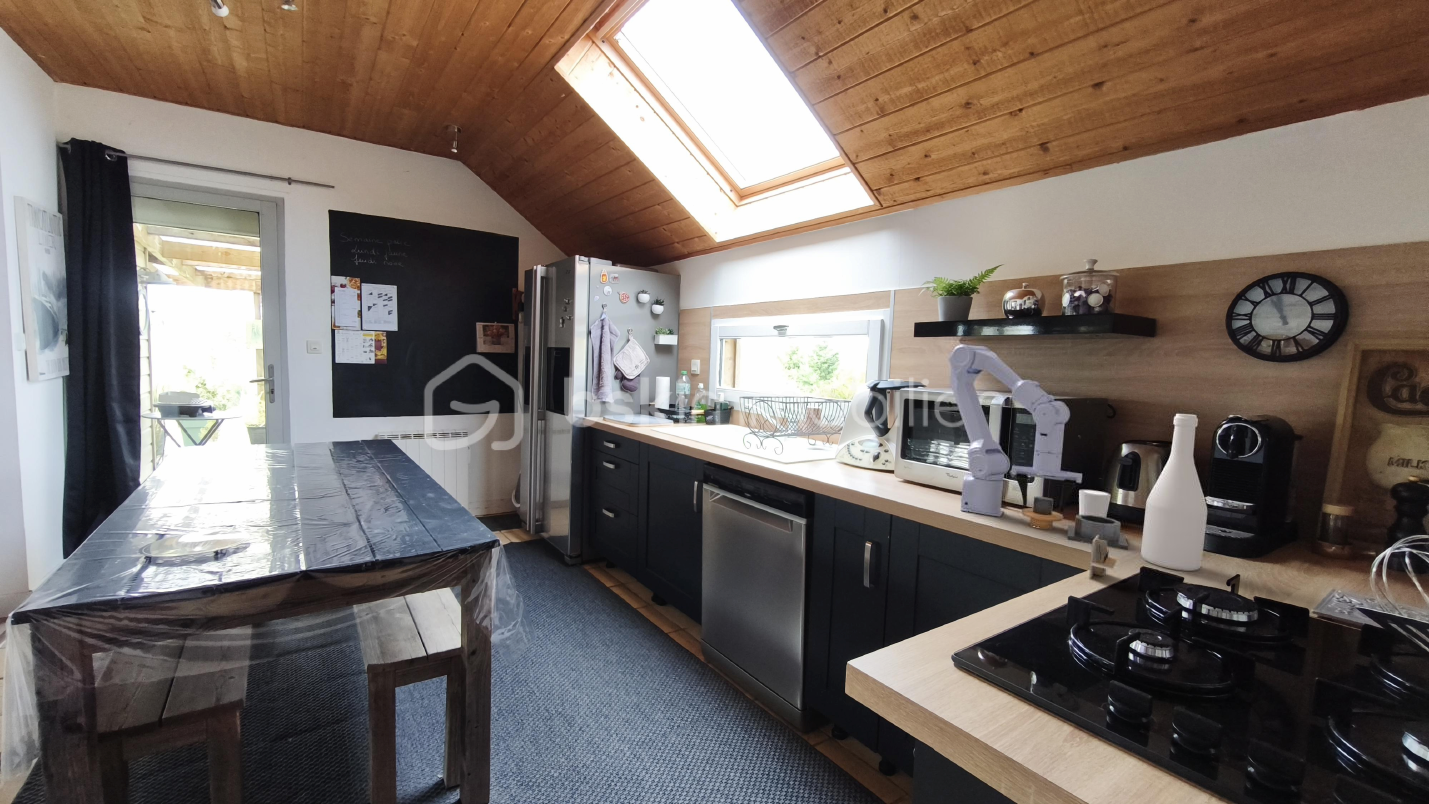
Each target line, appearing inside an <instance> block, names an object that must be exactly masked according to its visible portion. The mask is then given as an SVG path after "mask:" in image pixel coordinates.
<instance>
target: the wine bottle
mask: <svg viewBox="0 0 1429 804" xmlns="http://www.w3.org/2000/svg"><path fill="white" fill-rule="evenodd" d="M1197 417H1198V416H1197V415H1196V414H1188V413H1187V414H1186V413H1176V414H1175V416H1174V417H1173V425H1174V429H1173V437H1172V441H1171V442H1172V444H1171V451H1170V455H1169V458H1168V460H1167V462H1166V464H1165V465H1164V467H1163V470H1162V471H1161V473H1160V475H1159V476H1158V479H1157V480H1156V482H1155V483H1154V485H1153V487H1152V489H1151V491H1150V493H1149V495H1148V497H1147V499H1146V502H1145V511H1144V513H1145V514H1144V521H1143V522H1144V523H1143V530H1142V540H1141V549H1140V550H1141V551H1140V554H1141V557H1142V559H1144V560H1145V561H1146V562H1148V563H1150V564H1153V565H1156V566H1159V567H1161V568H1167V569H1171V570H1175V571H1176V570H1177V571H1183V572H1184V571H1186V572H1187V571H1188V572H1189V571H1190V572H1192V571H1197V570H1199V568H1200V567H1201V565H1202V562H1203V561H1202V560H1203V553H1204V551H1203V550H1204V543H1205V537H1206V536H1205V535H1206V527H1207V518H1208V517H1207V516H1208V507H1207V503H1206V500H1205V495H1204V493H1203V489H1202V486H1201V482H1200V478H1199V475H1198V472H1197V468H1196V465H1195V458H1194V450H1195V449H1194V448H1195V437H1196V436H1195V435H1196V427H1198V422H1199V418H1197Z"/></svg>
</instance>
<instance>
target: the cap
mask: <svg viewBox="0 0 1429 804" xmlns="http://www.w3.org/2000/svg"><path fill="white" fill-rule="evenodd" d="M1053 505H1054V499H1053V498H1050V497H1045V496H1033V505H1032V507H1031V508H1030V507H1028V508H1022V509H1021V514H1022V515H1023V516H1025V517H1028V518H1030V519H1029V526H1030V525H1032V526H1035V527H1039V528H1038V529H1040V528H1042V530H1052V529H1053V525H1054V522H1062V521H1064V520H1063V519H1064V516H1063V514H1061V513H1059V512H1057V511H1053ZM1032 526H1031V527H1032ZM1035 527H1034V528H1035Z"/></svg>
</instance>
